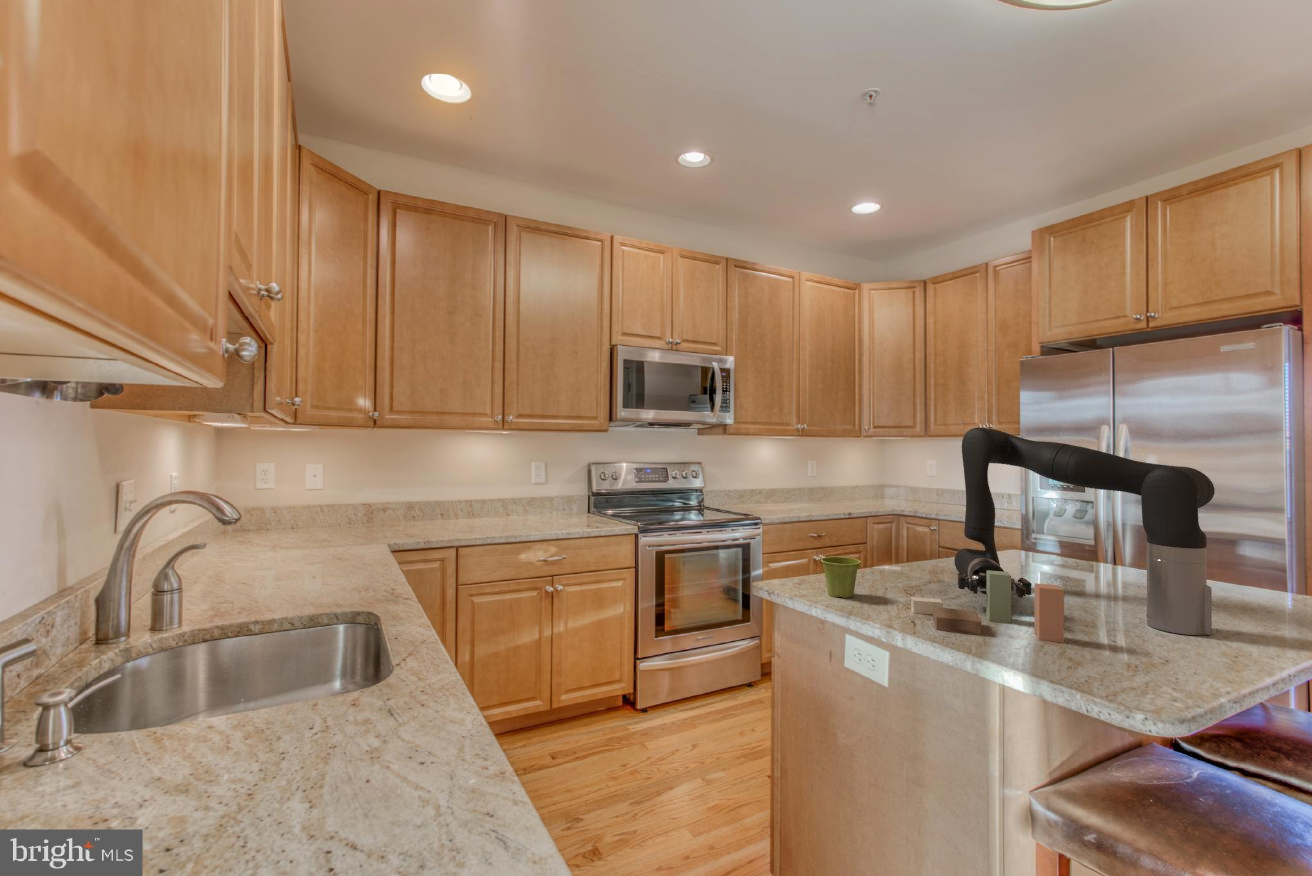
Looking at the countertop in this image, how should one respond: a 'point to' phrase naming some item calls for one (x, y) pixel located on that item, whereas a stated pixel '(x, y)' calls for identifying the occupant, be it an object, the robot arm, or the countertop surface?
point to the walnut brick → (956, 620)
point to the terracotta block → (1049, 612)
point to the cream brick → (925, 605)
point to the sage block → (998, 596)
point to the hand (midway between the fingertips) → (998, 591)
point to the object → (840, 575)
